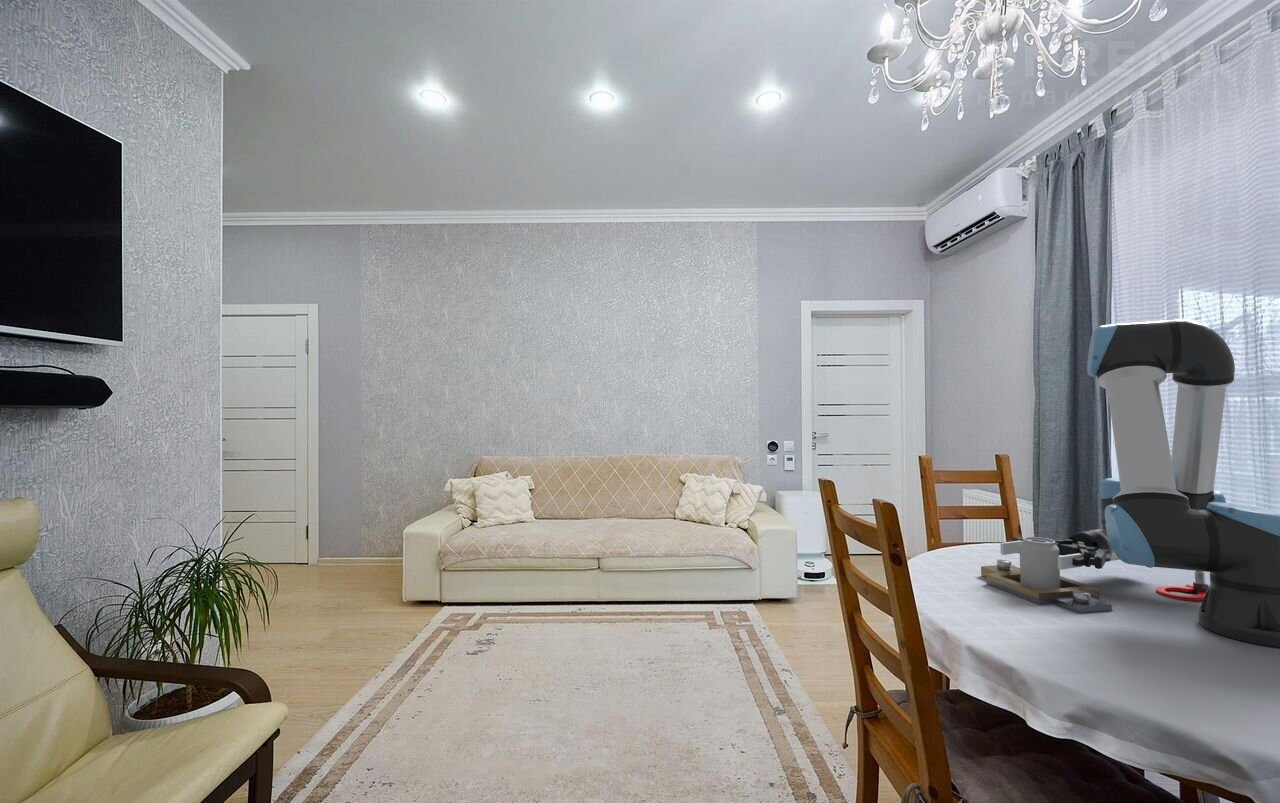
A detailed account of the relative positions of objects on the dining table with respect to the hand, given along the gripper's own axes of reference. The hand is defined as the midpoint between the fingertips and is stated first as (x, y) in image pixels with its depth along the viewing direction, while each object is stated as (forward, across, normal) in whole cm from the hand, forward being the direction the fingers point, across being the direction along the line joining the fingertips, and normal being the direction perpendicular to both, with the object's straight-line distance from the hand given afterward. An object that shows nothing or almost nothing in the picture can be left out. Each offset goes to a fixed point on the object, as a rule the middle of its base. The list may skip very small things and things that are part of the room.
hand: (1029, 555), depth 131 cm
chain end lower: (-3, -3, -8) cm, 9 cm away
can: (-3, 0, -9) cm, 9 cm away
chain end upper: (-4, +3, -8) cm, 10 cm away
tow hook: (-29, -13, -9) cm, 33 cm away
